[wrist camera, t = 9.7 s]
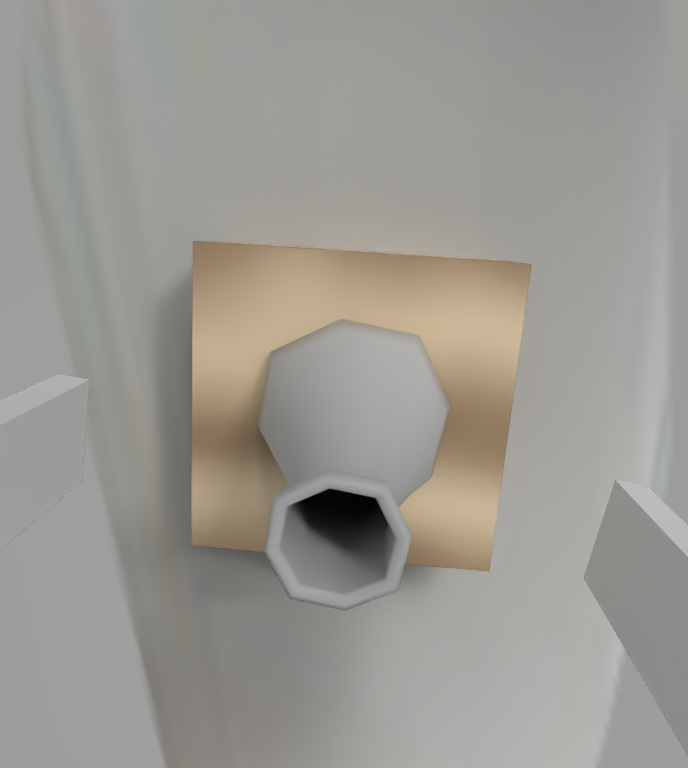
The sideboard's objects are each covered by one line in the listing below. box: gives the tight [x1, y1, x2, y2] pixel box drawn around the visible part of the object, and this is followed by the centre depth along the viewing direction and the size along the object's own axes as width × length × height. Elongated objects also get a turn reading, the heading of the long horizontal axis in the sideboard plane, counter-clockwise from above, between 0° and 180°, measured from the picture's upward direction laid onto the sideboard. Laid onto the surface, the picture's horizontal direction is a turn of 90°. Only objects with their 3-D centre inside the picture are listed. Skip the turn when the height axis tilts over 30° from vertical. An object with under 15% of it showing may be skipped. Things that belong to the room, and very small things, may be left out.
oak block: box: [191, 241, 531, 571], centre depth 25 cm, size 12×12×5 cm
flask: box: [258, 319, 451, 610], centre depth 18 cm, size 7×7×10 cm
